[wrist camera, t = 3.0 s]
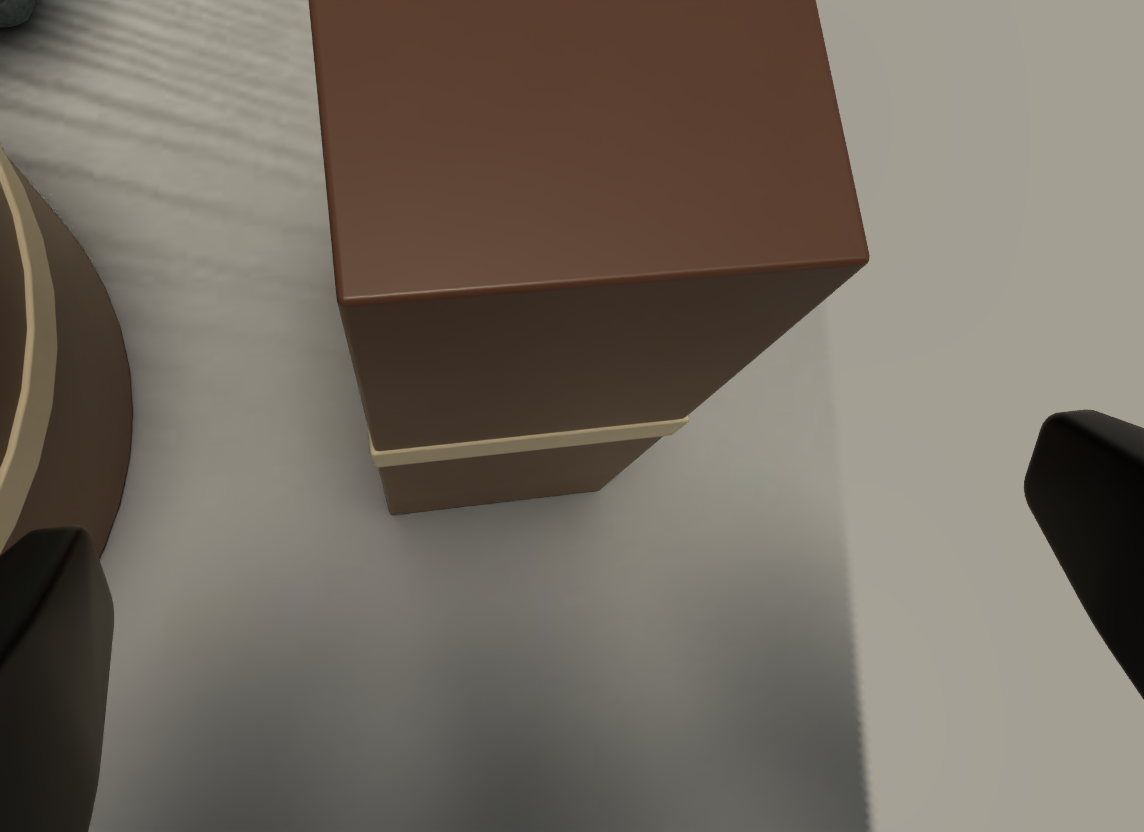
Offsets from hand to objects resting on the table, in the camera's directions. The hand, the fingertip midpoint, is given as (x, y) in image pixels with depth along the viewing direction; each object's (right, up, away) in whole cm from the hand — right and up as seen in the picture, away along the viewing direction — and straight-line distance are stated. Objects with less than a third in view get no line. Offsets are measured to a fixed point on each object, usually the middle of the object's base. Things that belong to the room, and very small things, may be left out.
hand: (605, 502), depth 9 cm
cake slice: (-2, +2, +12) cm, 12 cm away
